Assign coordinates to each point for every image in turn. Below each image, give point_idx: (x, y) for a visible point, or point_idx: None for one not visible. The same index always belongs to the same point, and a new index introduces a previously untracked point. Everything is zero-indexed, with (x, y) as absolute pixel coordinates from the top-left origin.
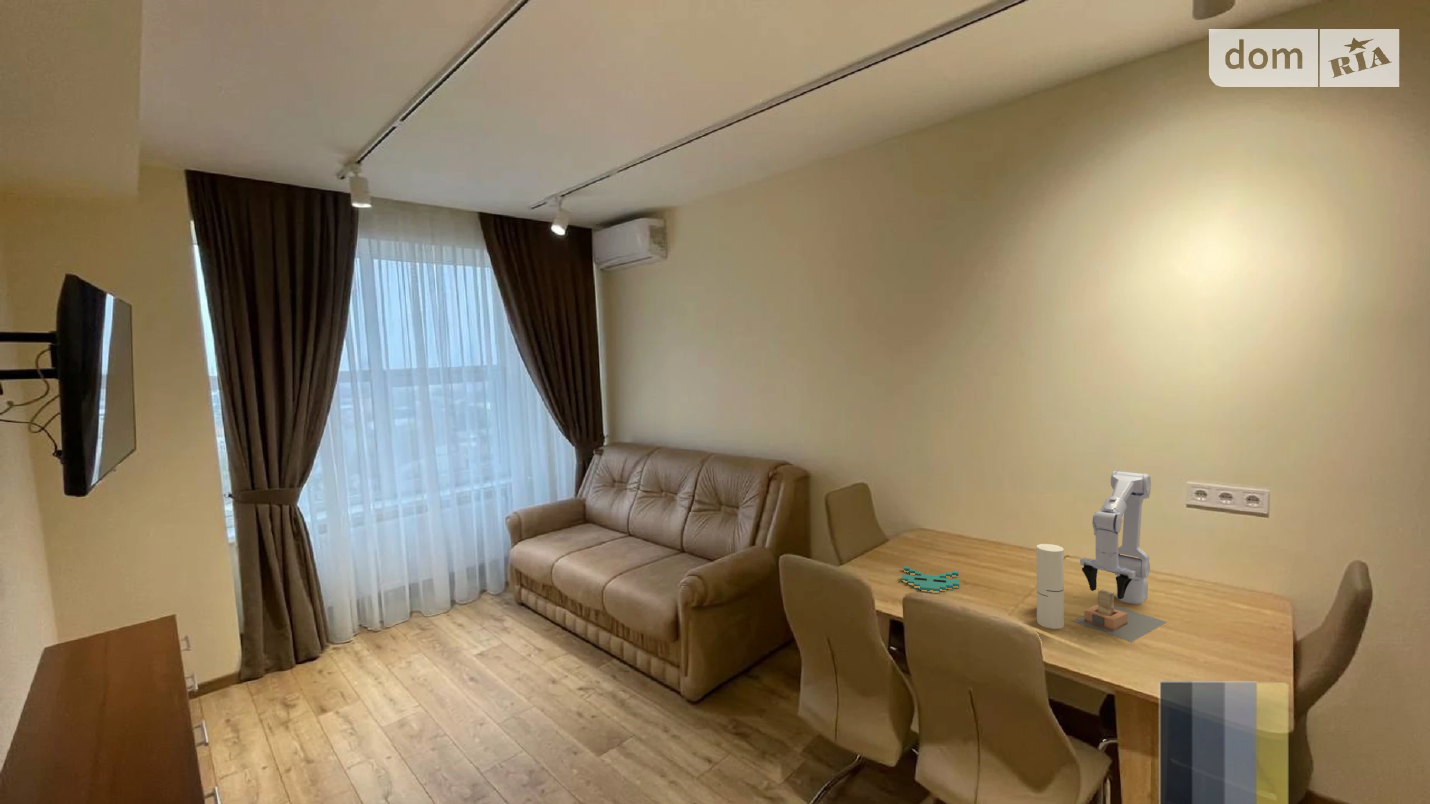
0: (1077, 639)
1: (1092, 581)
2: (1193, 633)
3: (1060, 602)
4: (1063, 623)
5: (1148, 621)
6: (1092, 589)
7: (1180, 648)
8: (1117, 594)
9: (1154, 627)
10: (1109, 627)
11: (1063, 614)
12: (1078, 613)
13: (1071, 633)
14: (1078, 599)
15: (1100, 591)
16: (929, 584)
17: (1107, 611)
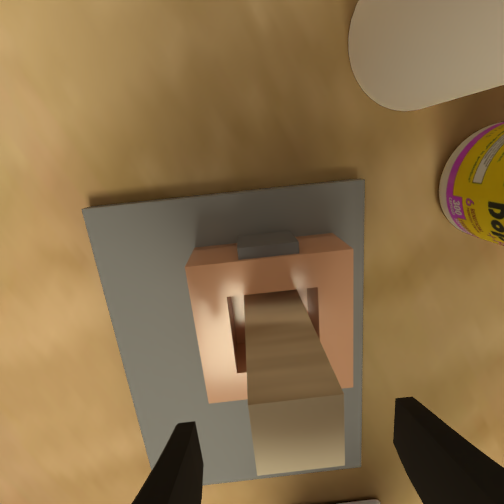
0: (246, 18)
1: (459, 491)
2: (80, 486)
3: None
4: (366, 53)
5: None
6: (403, 407)
7: (4, 351)
8: (184, 451)
9: (143, 418)
10: (213, 249)
11: (396, 28)
12: (399, 307)
13: (304, 64)
14: (461, 422)
15: (332, 414)
16: None
17: (251, 318)
